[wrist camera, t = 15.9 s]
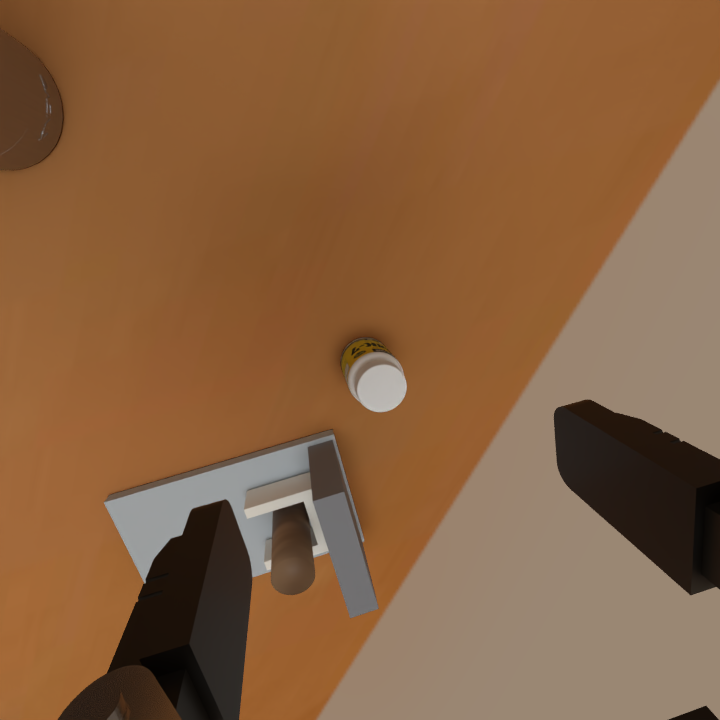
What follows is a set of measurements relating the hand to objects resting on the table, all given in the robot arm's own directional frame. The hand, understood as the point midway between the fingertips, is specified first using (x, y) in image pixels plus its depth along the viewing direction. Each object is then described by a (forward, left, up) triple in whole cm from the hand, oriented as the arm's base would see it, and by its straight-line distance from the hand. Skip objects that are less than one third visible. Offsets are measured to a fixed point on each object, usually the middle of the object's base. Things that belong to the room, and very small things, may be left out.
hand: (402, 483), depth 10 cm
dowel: (+1, -20, -29) cm, 35 cm away
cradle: (+1, -20, -28) cm, 35 cm away
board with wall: (-4, -22, -30) cm, 37 cm away
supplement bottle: (+5, -4, -30) cm, 31 cm away
